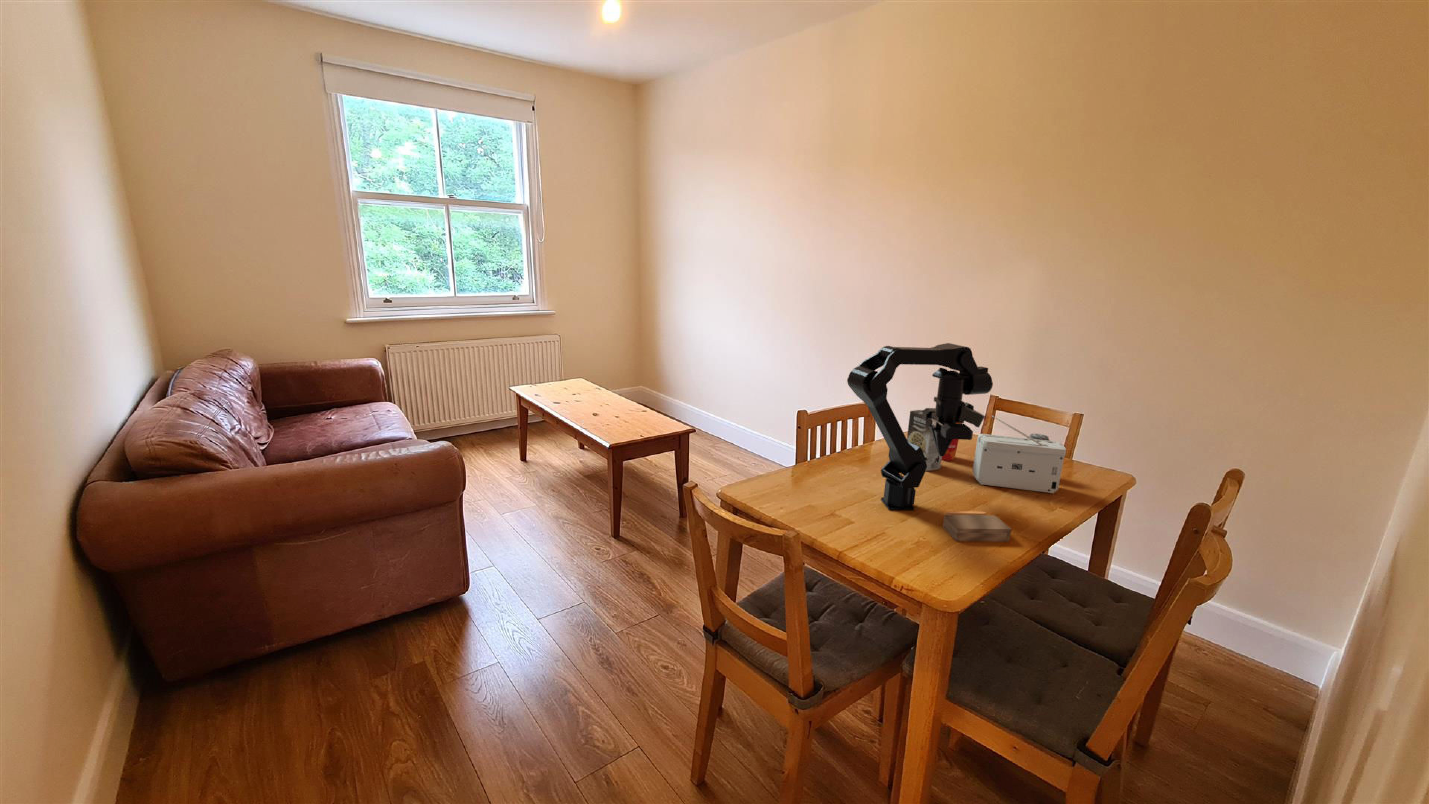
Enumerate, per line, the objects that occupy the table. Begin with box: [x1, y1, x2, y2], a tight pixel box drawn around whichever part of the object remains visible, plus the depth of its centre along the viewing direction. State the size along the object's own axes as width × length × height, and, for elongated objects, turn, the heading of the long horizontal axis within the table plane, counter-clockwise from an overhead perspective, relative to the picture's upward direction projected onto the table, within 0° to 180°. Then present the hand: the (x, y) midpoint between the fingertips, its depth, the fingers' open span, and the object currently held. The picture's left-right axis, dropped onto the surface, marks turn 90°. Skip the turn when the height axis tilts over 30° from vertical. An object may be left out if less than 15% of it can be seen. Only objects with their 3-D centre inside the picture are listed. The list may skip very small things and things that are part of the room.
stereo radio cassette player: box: [972, 415, 1067, 494], centre depth 156 cm, size 21×8×20 cm, turn 74°
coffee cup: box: [941, 423, 963, 462], centre depth 177 cm, size 8×8×15 cm
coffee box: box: [906, 409, 942, 472], centre depth 170 cm, size 9×6×16 cm
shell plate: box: [945, 510, 987, 515], centre depth 130 cm, size 9×8×3 cm
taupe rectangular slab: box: [942, 514, 1012, 543], centre depth 128 cm, size 12×7×3 cm, turn 92°
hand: (941, 455), depth 144 cm, fingers closed
